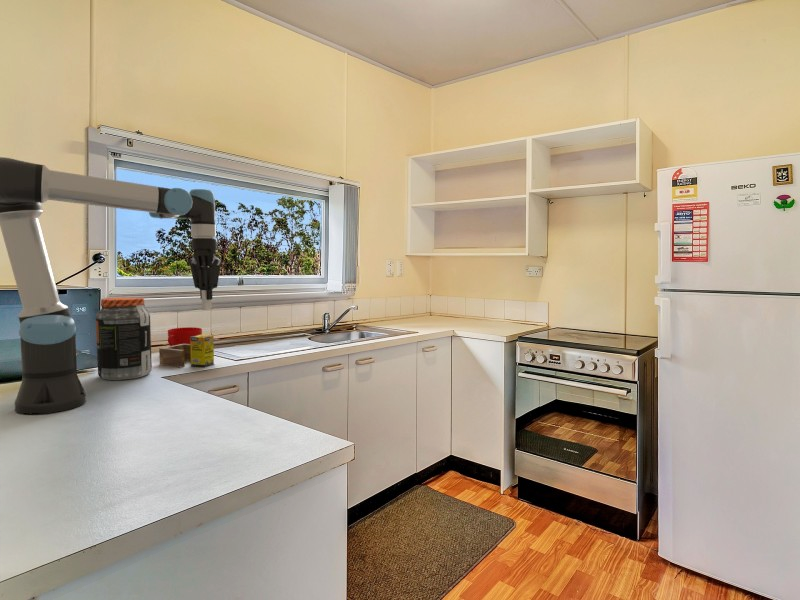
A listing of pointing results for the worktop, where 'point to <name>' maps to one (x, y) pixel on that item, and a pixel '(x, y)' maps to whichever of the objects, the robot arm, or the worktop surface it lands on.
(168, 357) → the brown rectangular block
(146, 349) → the supplement tub
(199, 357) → the supplement box
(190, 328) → the red ribbed container
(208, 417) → the worktop surface
